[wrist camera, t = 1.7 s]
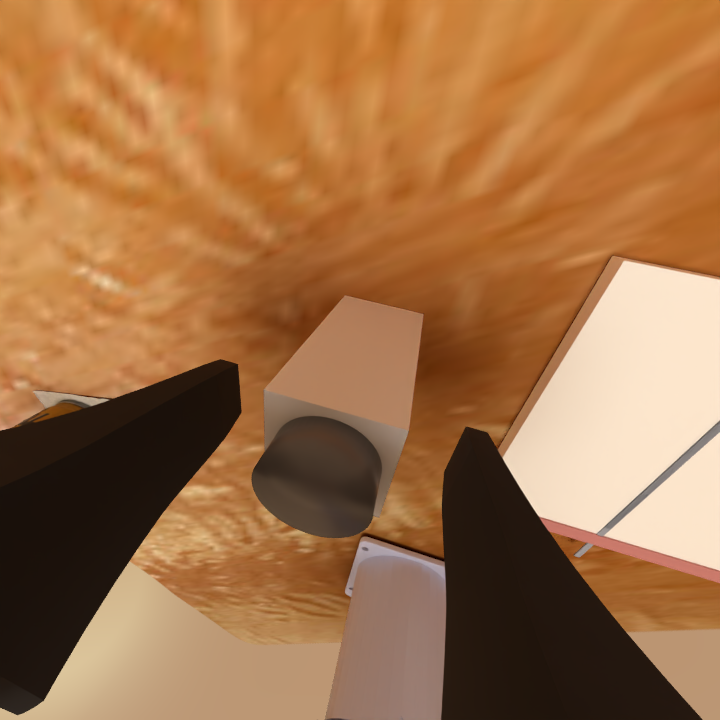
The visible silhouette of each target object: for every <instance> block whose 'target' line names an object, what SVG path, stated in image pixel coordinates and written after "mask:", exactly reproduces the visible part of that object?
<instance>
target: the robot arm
mask: <svg viewBox="0 0 720 720" xmlns="http://www.w3.org/2000/svg"><path fill="white" fill-rule="evenodd" d="M240 414H241V398H240V385H239V372H238V364H236V363H232V362H228V361H225V360H221V359H220V360H217V361H214V362H211V363H208V364H205V365H202V366H200V367H197V368H195V369H192V370H189V371H187V372H184V373H182V374H179V375H177V376H174V377H171V378H169V379H166V380H164V381H161V382H158V383H156V384H153V385H151V386H148V387H145V388H143V389H140V390H137V391H134V392H131V393H128V394H125V395H123V396H120V397H117V398H114V399H111V400H108V401H105V402H103V403H100V404H97V405H93V406H90V407H87V408H84V409H81V410H77V411H74V412H71V413H67V414H64V415H60V416H57V417H53V418H50V419H46V420H42V421H39V422H35V423H31V424H27V425H23V426H18V427H14V428H10V429H6V430H2V431H0V708H2V709H5V710H7V711H9V712H12V713H14V714H16V715H19V714H22V713H25V712H26V711H28V710H30V709H32V708H34V707H35V706H37V705H38V704H40V703H41V702H42V701H44V699H45V698H46V696H47V694H48V692H49V691H50V689H51V687H52V685H53V683H54V682H55V680H56V678H57V676H58V675H59V673H60V671H61V670H62V668H63V666H64V665H65V663H66V661H67V659H68V658H69V656H70V655H71V653H72V651H73V649H74V648H75V646H76V644H77V642H78V641H79V639H80V638H81V636H82V634H83V633H84V631H85V629H86V628H87V626H88V624H89V623H90V621H91V620H92V618H93V617H94V615H95V613H96V612H97V610H98V609H99V607H100V605H101V604H102V602H103V600H104V599H105V598H106V596H107V594H108V593H109V591H110V590H111V588H112V586H113V585H114V583H115V582H116V580H117V579H118V577H119V576H120V574H121V573H122V571H123V570H124V568H125V567H126V565H127V564H128V562H129V561H130V559H131V558H132V556H133V555H134V553H135V552H136V550H137V549H138V547H139V546H140V545H141V543H142V542H143V540H144V539H145V537H146V536H147V535H148V533H149V532H150V530H151V529H152V528H153V526H154V525H155V523H156V522H157V520H158V519H159V518H160V516H161V515H162V513H163V512H164V511H165V510H166V508H167V507H168V506H169V504H170V503H171V502H172V501H173V499H174V498H175V497H176V496H177V495H178V493H179V492H180V491H181V490H182V489H183V488H184V486H185V485H186V484H187V483H188V482H189V481H190V479H191V478H192V477H193V476H194V475H195V473H196V472H197V471H198V470H199V469H200V468H201V466H202V465H203V464H204V463H205V462H206V461H207V459H208V458H209V457H210V456H211V455H212V453H213V452H214V451H215V450H216V449H217V447H218V446H219V445H220V444H221V442H222V441H223V440H224V439H225V437H226V436H227V434H228V433H229V431H230V430H231V428H232V427H233V425H234V424H235V422H236V420H237V419H238V417H239V416H240ZM442 520H443V542H444V562H443V561H440V560H437V559H434V558H431V557H428V556H425V555H422V554H419V553H415V552H412V551H409V550H406V549H403V548H400V547H397V546H394V545H391V544H388V543H385V542H382V541H379V540H376V539H373V538H370V537H362V538H361V539H360V543H359V546H358V549H357V552H356V556H355V559H354V562H353V566H352V569H351V572H350V575H349V579H348V582H347V585H346V589H345V593H346V594H347V595H348V596H351V601H350V605H349V610H348V615H347V619H346V624H345V629H344V633H343V638H342V642H341V647H340V652H339V657H338V661H337V666H336V671H335V676H334V680H333V684H332V689H331V694H330V698H329V703H328V708H327V712H326V717H325V720H702V719H701V718H700V716H699V715H698V714H697V713H696V712H695V711H694V710H693V709H692V707H691V706H690V705H689V704H688V703H687V702H686V701H685V700H684V699H683V698H682V696H681V695H680V694H679V693H678V692H677V691H676V690H675V689H674V687H673V686H672V685H671V684H670V683H669V682H668V681H667V679H666V678H665V677H664V676H663V675H662V674H661V672H660V671H659V670H658V669H657V668H656V667H655V665H654V664H653V663H652V662H651V661H650V660H649V659H648V657H647V656H646V655H645V654H644V653H643V651H642V650H641V649H640V648H639V647H638V646H637V645H636V643H635V642H634V641H633V640H632V639H631V637H630V636H629V635H628V634H627V633H626V632H625V630H624V629H623V628H622V627H621V626H620V624H619V623H618V622H617V621H616V619H615V618H614V617H613V616H612V615H611V613H610V612H609V611H608V610H607V608H606V607H605V606H604V605H603V603H602V602H601V601H600V600H599V598H598V597H597V596H596V594H595V593H594V592H593V591H592V589H591V588H590V587H589V585H588V584H587V583H586V582H585V580H584V579H583V578H582V576H581V575H580V574H579V573H578V571H577V570H576V569H575V567H574V566H573V565H572V563H571V562H570V561H569V559H568V558H567V556H566V555H565V554H564V552H563V551H562V550H561V548H560V547H559V545H558V544H557V542H556V541H555V540H554V538H553V537H552V535H551V534H550V532H549V531H548V529H547V528H546V527H545V525H544V524H543V522H542V521H541V519H540V518H539V516H538V515H537V513H536V512H535V510H534V509H533V507H532V506H531V504H530V502H529V501H528V499H527V498H526V496H525V495H524V493H523V491H522V490H521V488H520V487H519V485H518V483H517V482H516V480H515V478H514V477H513V475H512V473H511V472H510V470H509V468H508V467H507V465H506V463H505V462H504V460H503V458H502V457H501V455H500V453H499V451H498V450H497V448H496V446H495V445H494V443H493V441H492V439H491V438H490V436H489V434H488V433H487V432H484V431H480V430H477V429H473V428H469V427H466V428H465V430H464V432H463V434H462V436H461V438H460V440H459V442H458V444H457V446H456V448H455V450H454V452H453V455H452V457H451V459H450V461H449V463H448V465H447V467H446V469H445V471H444V482H443V495H442Z"/></svg>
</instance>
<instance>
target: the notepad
mask: <svg viewBox="0 0 720 720" xmlns="http://www.w3.org/2000/svg"><path fill="white" fill-rule="evenodd" d="M498 451H499V453H500V455H501V457H502V458H503V460H504V462H505V463H506V465H507V467H508V468H509V470H510V472H511V473H512V475H513V477H514V478H515V480H516V482H517V483H518V485H519V487H520V488H521V490H522V491H523V493H524V495H525V496H526V498H527V499H528V501H529V502H530V504H531V506H532V507H533V509H534V510H535V512H536V513H537V515H538V516H539V518H540V519H541V521H542V522H543V524H544V525H545V527H546V528H547V529H548V531H550V532H554V533H557V534H560V535H563V536H567V537H570V538H573V539H577V540H580V541H583V542H587V543H586V544H585V545H584V546H582V547H581V548H580V549H579V550H578V551H577V552H576V553H575V554H574V556H576V557H580V556H582V555H583V554H584V553H585V552H586V551H587V550H588V549H589V548H591V547H592V546H593V545H596V546H600V547H603V548H606V549H610V550H613V551H616V552H619V553H623V554H626V555H629V556H633V557H636V558H639V559H643V560H646V561H649V562H652V563H656V564H659V565H662V566H666V567H669V568H672V569H675V570H679V571H682V572H685V573H689V574H692V575H695V576H699V577H702V578H705V579H708V580H712V581H715V582H718V583H720V277H716V276H711V275H706V274H701V273H696V272H691V271H687V270H682V269H677V268H672V267H667V266H662V265H657V264H652V263H647V262H642V261H637V260H632V259H627V258H622V257H617V256H612V257H611V259H610V261H609V262H608V264H607V266H606V267H605V269H604V271H603V272H602V274H601V276H600V277H599V279H598V281H597V283H596V284H595V286H594V288H593V289H592V291H591V293H590V294H589V296H588V298H587V299H586V301H585V303H584V305H583V306H582V308H581V310H580V311H579V313H578V315H577V316H576V318H575V320H574V321H573V323H572V325H571V327H570V328H569V330H568V332H567V333H566V335H565V337H564V338H563V340H562V342H561V343H560V345H559V347H558V349H557V350H556V352H555V354H554V355H553V357H552V359H551V360H550V362H549V364H548V365H547V367H546V369H545V370H544V372H543V374H542V376H541V377H540V379H539V381H538V382H537V384H536V386H535V387H534V389H533V391H532V392H531V394H530V396H529V398H528V399H527V401H526V403H525V404H524V406H523V408H522V409H521V411H520V413H519V414H518V416H517V418H516V420H515V421H514V423H513V425H512V426H511V428H510V430H509V431H508V433H507V435H506V436H505V438H504V440H503V442H502V443H501V445H500V447H499V448H498Z"/></svg>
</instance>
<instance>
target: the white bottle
mask: <svg viewBox="0 0 720 720" xmlns="http://www.w3.org/2000/svg"><path fill="white" fill-rule="evenodd" d="M423 315H424V314H422V313H418V312H413V311H409V310H405V309H401V308H397V307H392V306H388V305H384V304H380V303H376V302H371V301H367V300H363V299H359V298H354V297H350V296H346V295H345V296H344V297H343V298H342V299H341V300H340V302H339V303H338V304H337V305H336V306H335V307H334V309H333V310H332V311H331V312H330V313H329V314H328V316H327V317H326V318H325V319H324V320H323V321H322V323H321V324H320V325H319V326H318V327H317V328H316V330H315V331H314V332H313V333H312V334H311V335H310V336H309V338H308V339H307V340H306V341H305V342H304V343H303V345H302V346H301V347H300V348H299V349H298V350H297V352H296V353H295V354H294V355H293V356H292V357H291V359H290V360H289V361H288V362H287V363H286V364H285V366H284V367H283V368H282V369H281V370H280V371H279V373H278V374H277V375H276V376H275V377H274V378H273V380H272V381H271V382H270V383H269V384H268V385H267V387H266V388H265V389H264V433H265V452H264V454H263V455H262V457H261V458H260V460H259V461H258V463H257V464H256V466H255V468H254V470H253V473H252V486H253V489H254V492H255V494H256V496H257V497H258V499H259V500H260V502H261V503H262V504H263V505H264V507H265V508H266V509H267V510H268V511H269V512H271V513H272V514H273V515H274V516H275V517H277V518H278V519H280V520H281V521H283V522H284V523H286V524H288V525H289V526H291V527H293V528H296V529H298V530H300V531H303V532H305V533H308V534H312V535H316V536H320V537H327V538H344V537H350V536H354V535H356V534H359V533H360V532H362V531H364V530H365V529H366V528H367V527H368V526H369V524H370V523H371V521H372V518H373V516H375V517H379V516H380V513H381V511H382V508H383V505H384V502H385V499H386V496H387V493H388V490H389V487H390V484H391V481H392V478H393V475H394V473H395V470H396V467H397V464H398V461H399V458H400V455H401V452H402V449H403V446H404V443H405V440H406V438H407V435H408V432H409V426H410V418H411V410H412V402H413V394H414V386H415V378H416V370H417V362H418V355H419V347H420V339H421V331H422V323H423Z"/></svg>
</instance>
